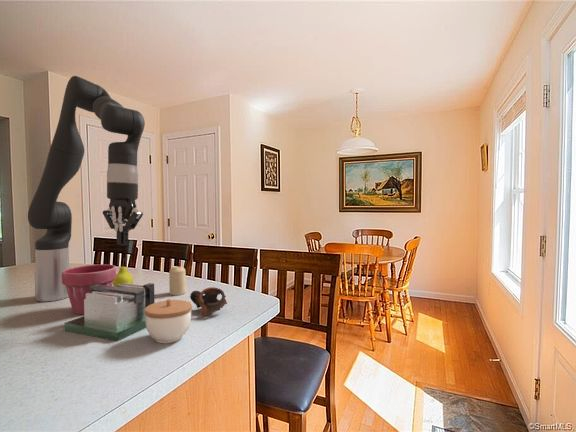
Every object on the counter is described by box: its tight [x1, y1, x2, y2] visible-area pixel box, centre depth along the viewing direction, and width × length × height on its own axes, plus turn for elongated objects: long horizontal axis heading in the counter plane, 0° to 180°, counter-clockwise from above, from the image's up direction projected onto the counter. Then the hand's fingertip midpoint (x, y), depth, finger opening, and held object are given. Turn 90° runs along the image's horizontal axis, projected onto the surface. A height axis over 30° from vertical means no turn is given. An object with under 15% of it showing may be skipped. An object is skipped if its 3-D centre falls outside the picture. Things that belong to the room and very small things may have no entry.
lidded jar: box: [145, 298, 193, 344], centre depth 77 cm, size 11×11×9 cm
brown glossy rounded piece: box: [189, 286, 228, 317], centre depth 96 cm, size 12×10×8 cm
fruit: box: [112, 257, 134, 287], centre depth 119 cm, size 7×7×12 cm
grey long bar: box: [90, 284, 144, 304], centre depth 85 cm, size 16×3×3 cm, turn 69°
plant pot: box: [62, 263, 117, 315], centre depth 97 cm, size 14×14×13 cm
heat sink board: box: [64, 282, 155, 342], centre depth 85 cm, size 18×16×11 cm
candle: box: [168, 265, 187, 296], centre depth 115 cm, size 6×6×10 cm
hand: (122, 245), depth 87 cm, fingers closed
